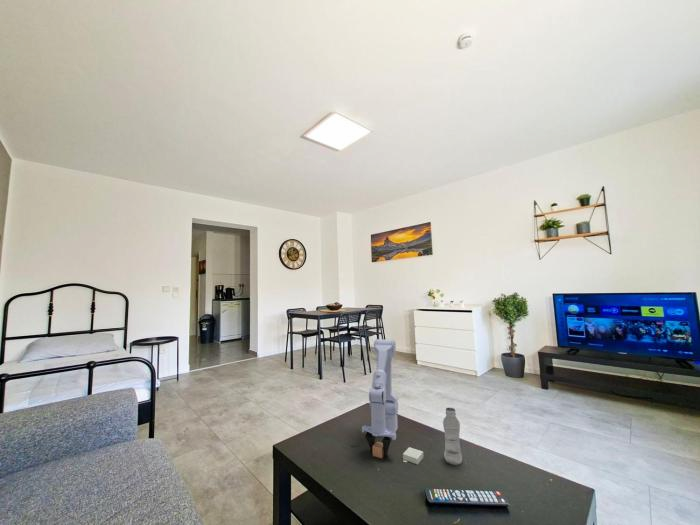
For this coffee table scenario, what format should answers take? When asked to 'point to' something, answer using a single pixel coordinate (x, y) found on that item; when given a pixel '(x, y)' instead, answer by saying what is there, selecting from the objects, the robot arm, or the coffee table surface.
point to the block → (378, 450)
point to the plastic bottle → (452, 438)
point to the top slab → (413, 455)
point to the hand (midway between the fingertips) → (379, 454)
